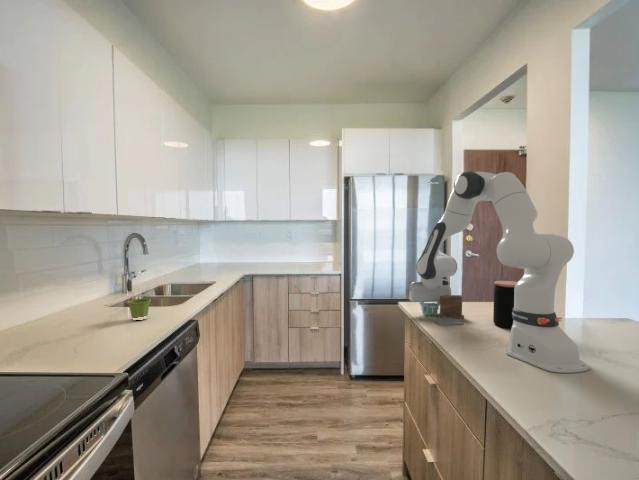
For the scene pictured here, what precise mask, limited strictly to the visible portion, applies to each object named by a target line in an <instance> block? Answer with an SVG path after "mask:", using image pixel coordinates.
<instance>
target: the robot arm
mask: <svg viewBox="0 0 639 480" xmlns="http://www.w3.org/2000/svg"><path fill="white" fill-rule="evenodd" d="M456 176H457V177H455V180H454V182H453V189H452V190H451V193H450V195H449V198H448V199H447V202H446V207H445V210H444V212H443V214H442V217H441V218H440V220H439V221H437V223H436V224H435V225H434V226H433V228H432V230H431V232H430V235H429V237H428V240H427V242H426V244H425V246H424V248H422V251H421V255H420V257H419V259H418V260H417V263H416V272H417V274H418V275H419V276H420V281H413V282H411V283H409V293H408V300H409V301H410V302H412V303H419V306H420V307H421V309H420V310H421V312H422V311H426V307H424V305H423V304H424V302H435V303H436V304H438V308H440V296H446V295H452V288H451V286H450V285H451V281H450V280H447V279H444V278H449V277H452V276H453V277H454V275H455V274H456V273H457V270H458V263H457V260H456V259H455V258H454V257H453V256H451V255H450V256H449V254H446V253H444V252H442V251H441V248H442V245H443V243H444V241H446V240H447V239H448V238H450V237H451V236H454V235H457V234H458V233H461V232H464V230H466V229H467V228H468V227H469V226H470V225H471V223H472V220H473V216H474V212H475V209H476V206H477V204H478V203H479V202H491V203H492V205H493V207H494V209H495V212H496V214H497V217H498V220H499V221H500V224H501V228H502V237H501V239H500V240H499V242H498V243H497V247H496V256H497V259H498V260H499V262H500V263H501V264H502V265H503V266H506V267H509V268H513V269H514V268H515V269H518V270H519V269H520V270H521V269H522V270H524V269H525V271H524V274H523V276H522V277H521V278H520V279H519V280H518V281H516V282H517V283H516V284H515V287H514V308H513V311H512V318H513V319H514V320H513V325H512V328H511V329H510V332H509V342H508V345H507V348H506V350H505V351H506V352H505V354H506V355H507V356H511V357H513V358H516V359H518V360H520V361H523V362H525V363H528V364H531V365H532V366H535V367H538V368H540V369H543V370H546V371H548V372H552V373H559V374H561V373H563V374H565V373H566V374H567V373H568V374H569V373H570V374H572V373H581V372H585V371H588V370H590V364H589V363H587V362H585V361H583V360H581V359H580V350H579V347H578V345H577V344H576V343H575V341H573V339H572V338H570V337H569V336H568V334H567V333H566V332H565V331H564V330H563V329H562V328H561V327H560V326H559V325H560V324H559V323H560V322H562V319H563V318H562V317H558V316H557V313H556V312H555V298H556V297H555V296H556V295H555V294H556V287H557V283H558V281H559V278H560V275H561V273H562V271H563V269H564V267H565V266H566V265H567V264H568V263H569V262H570V261H571V260H572V259H573V257H574V253H575V250H574V246H573V242H572V241H571V240H570V239H569V238H566V237H564V236H561V235H557V234H553V233H537V232H536V231H535V229H534V221H536V219H537V217H538V211H537V208H536V207H535V205H534V202H533V201H532V199H531V197H530V195H529V193H528V191H527V190H526V188H525V186H524V185H523V183H522V182H521V181H520V179H519V178H518V177H517V175H515V174H514V173H513V172H510V171H503V172H500V173H493V172H486V171H472V170H470V171H464V172H461V173H460V174H458V175H456Z"/></svg>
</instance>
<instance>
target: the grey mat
mask: <svg viewBox="0 0 639 480" xmlns="http://www.w3.org/2000/svg"><path fill="white" fill-rule="evenodd" d="M429 320H430V321H431V322H434V323H436V324H438V325H439V326H441V327H446V326H459V325H461V326H462V325H463V326H464V323H463V322H462V321H459V320H457V319H455V318H451V317H447V318H440V317H430V318H429Z"/></svg>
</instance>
